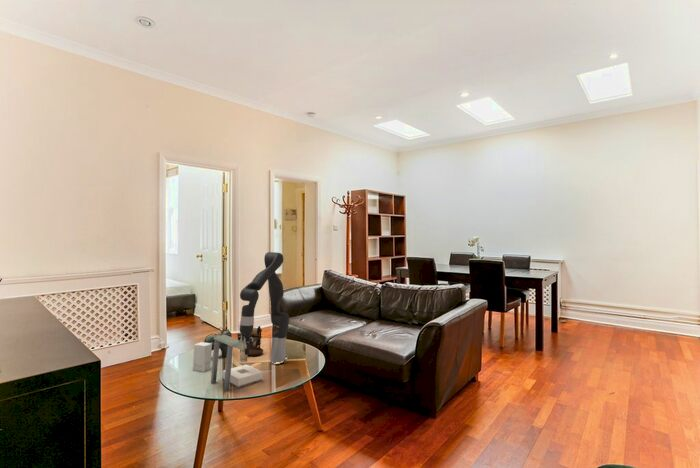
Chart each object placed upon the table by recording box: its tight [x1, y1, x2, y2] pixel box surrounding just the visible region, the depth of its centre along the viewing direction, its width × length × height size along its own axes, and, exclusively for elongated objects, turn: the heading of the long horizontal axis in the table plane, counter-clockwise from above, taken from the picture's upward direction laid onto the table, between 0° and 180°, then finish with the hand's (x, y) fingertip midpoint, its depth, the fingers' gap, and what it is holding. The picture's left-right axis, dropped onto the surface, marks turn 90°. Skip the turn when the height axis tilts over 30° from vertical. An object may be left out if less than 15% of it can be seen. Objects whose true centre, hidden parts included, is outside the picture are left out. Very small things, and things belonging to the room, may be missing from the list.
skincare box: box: [192, 341, 213, 373], centre depth 209 cm, size 8×7×16 cm
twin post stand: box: [210, 335, 242, 392], centre depth 189 cm, size 7×17×25 cm, turn 52°
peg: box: [239, 340, 249, 363], centre depth 198 cm, size 4×4×12 cm
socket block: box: [221, 363, 264, 389], centre depth 198 cm, size 16×16×5 cm
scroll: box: [248, 325, 264, 357], centre depth 245 cm, size 15×15×20 cm
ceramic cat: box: [203, 327, 233, 358], centre depth 230 cm, size 20×6×20 cm, turn 139°
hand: (244, 353), depth 198 cm, fingers closed on peg, 4 cm apart
